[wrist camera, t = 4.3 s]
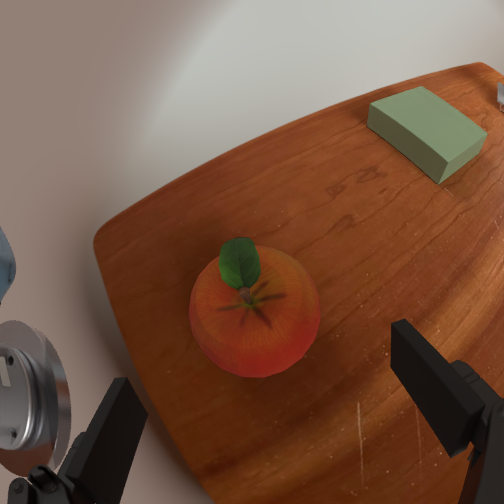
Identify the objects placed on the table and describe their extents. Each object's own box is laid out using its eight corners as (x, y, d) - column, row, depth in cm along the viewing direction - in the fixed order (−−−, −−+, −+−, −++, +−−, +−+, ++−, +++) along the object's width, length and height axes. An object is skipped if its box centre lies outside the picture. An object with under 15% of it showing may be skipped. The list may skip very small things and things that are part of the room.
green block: (438, 185, 29) (448, 162, 26) (366, 126, 36) (369, 103, 32) (479, 153, 31) (488, 133, 28) (417, 105, 38) (421, 85, 34)
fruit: (211, 388, 22) (161, 376, 14) (204, 286, 27) (162, 226, 19) (326, 371, 22) (347, 350, 13) (305, 268, 27) (308, 198, 18)
